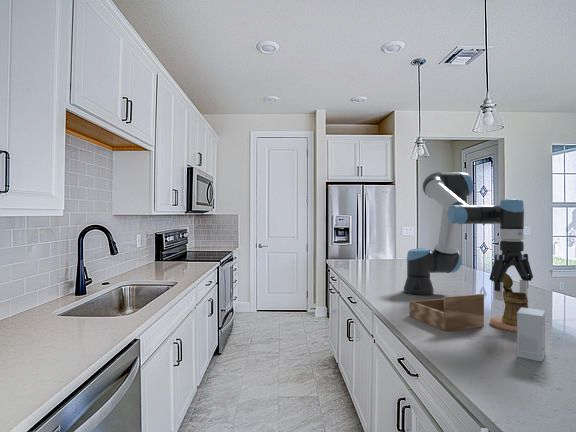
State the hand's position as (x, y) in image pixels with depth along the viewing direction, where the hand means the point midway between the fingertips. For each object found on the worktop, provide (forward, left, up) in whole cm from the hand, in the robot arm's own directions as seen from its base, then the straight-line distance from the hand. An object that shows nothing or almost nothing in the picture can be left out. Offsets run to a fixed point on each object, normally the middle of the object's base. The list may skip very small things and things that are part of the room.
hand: (511, 298), depth 136 cm
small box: (+23, -20, -10) cm, 32 cm away
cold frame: (-13, -19, -10) cm, 25 cm away
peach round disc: (0, 0, -10) cm, 10 cm away
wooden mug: (0, +1, -9) cm, 9 cm away
